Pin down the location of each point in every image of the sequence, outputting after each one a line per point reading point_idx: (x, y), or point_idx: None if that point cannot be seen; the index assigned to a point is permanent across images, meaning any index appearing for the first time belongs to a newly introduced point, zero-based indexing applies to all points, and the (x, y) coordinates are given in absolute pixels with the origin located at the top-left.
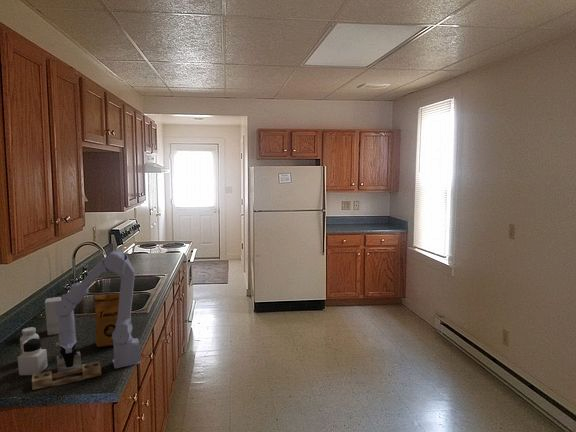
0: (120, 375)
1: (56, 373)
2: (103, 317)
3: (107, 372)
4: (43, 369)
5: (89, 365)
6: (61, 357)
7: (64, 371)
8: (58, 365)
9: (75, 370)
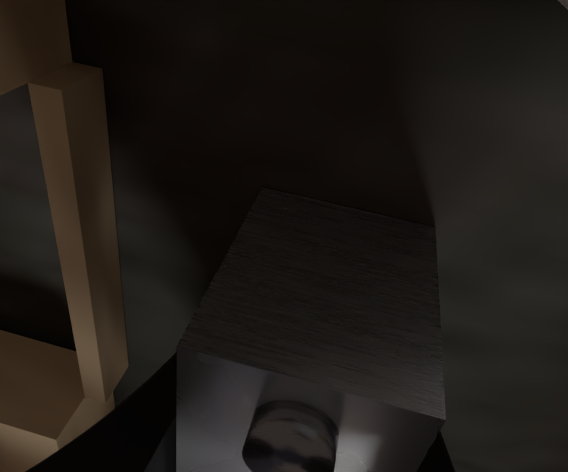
0: None
1: (53, 156)
2: None
3: None
4: (566, 7)
5: (4, 462)
6: (246, 428)
7: (80, 256)
8: (222, 268)
9: (80, 343)
